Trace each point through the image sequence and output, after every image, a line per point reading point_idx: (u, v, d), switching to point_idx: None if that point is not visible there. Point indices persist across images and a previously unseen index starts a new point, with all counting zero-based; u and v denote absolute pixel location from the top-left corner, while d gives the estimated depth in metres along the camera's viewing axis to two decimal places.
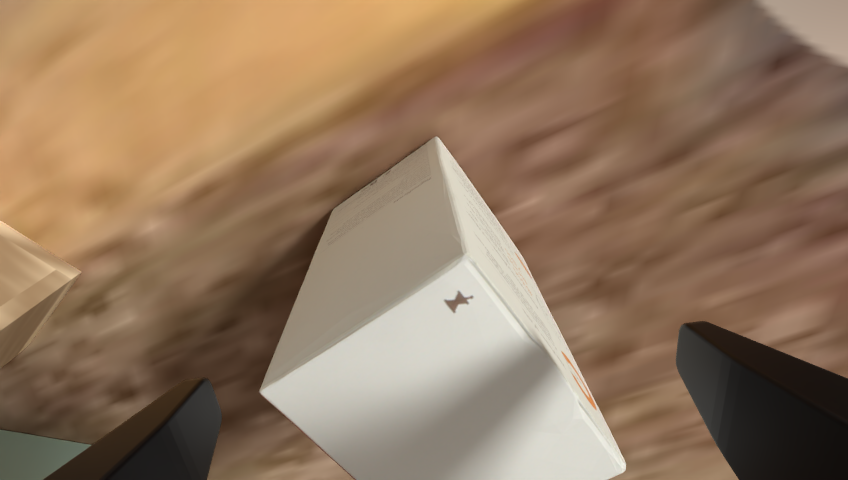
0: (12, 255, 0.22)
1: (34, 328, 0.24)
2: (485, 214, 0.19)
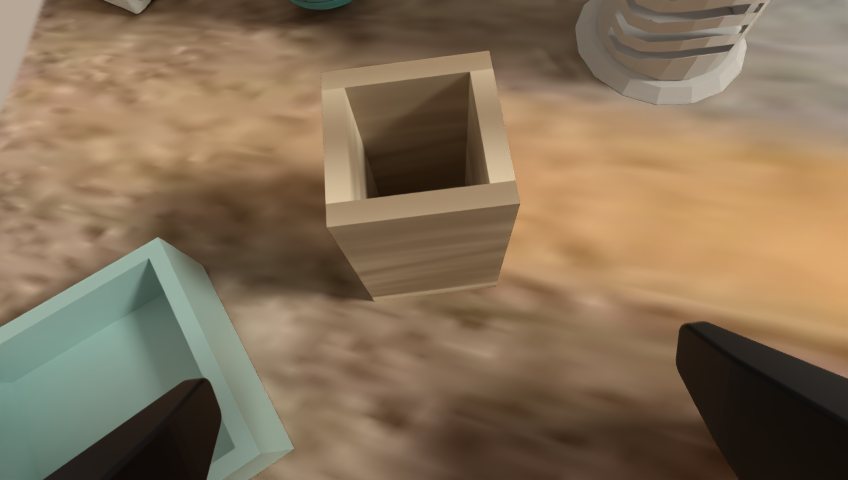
0: None
1: (422, 289, 0.22)
2: None
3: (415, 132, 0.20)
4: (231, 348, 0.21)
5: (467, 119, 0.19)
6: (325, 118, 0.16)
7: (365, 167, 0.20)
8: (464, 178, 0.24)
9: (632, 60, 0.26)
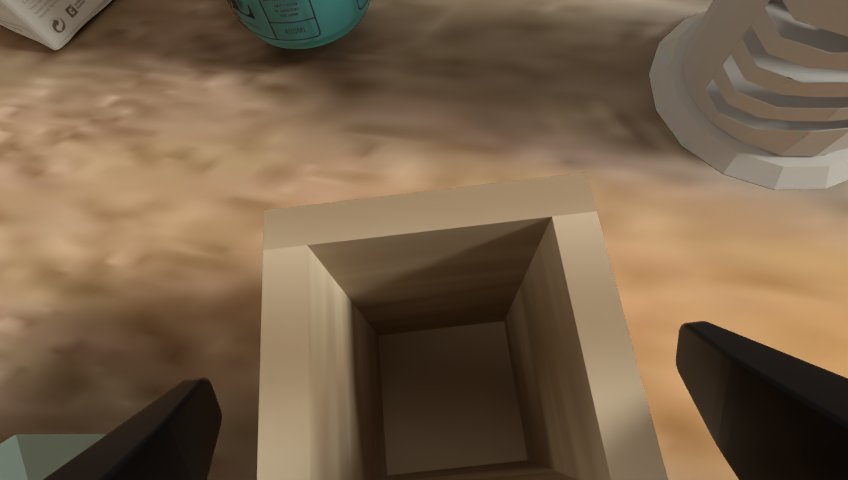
0: None
1: None
2: None
3: (437, 282, 0.11)
4: None
5: (528, 267, 0.11)
6: (267, 313, 0.08)
7: (352, 336, 0.12)
8: (505, 315, 0.16)
9: (742, 127, 0.18)
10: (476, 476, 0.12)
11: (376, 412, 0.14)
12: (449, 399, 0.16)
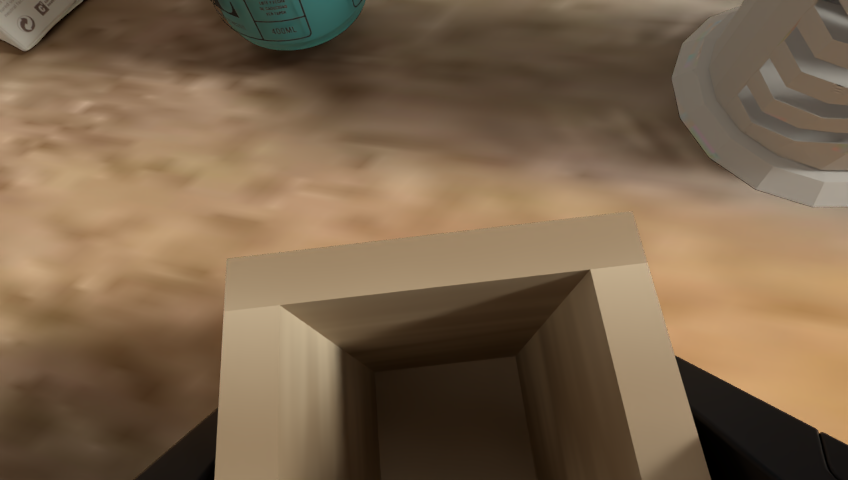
0: None
1: None
2: None
3: (442, 330, 0.10)
4: None
5: (552, 315, 0.09)
6: (226, 397, 0.06)
7: (342, 392, 0.10)
8: (518, 351, 0.14)
9: (779, 138, 0.16)
10: None
11: (371, 467, 0.12)
12: (454, 447, 0.14)
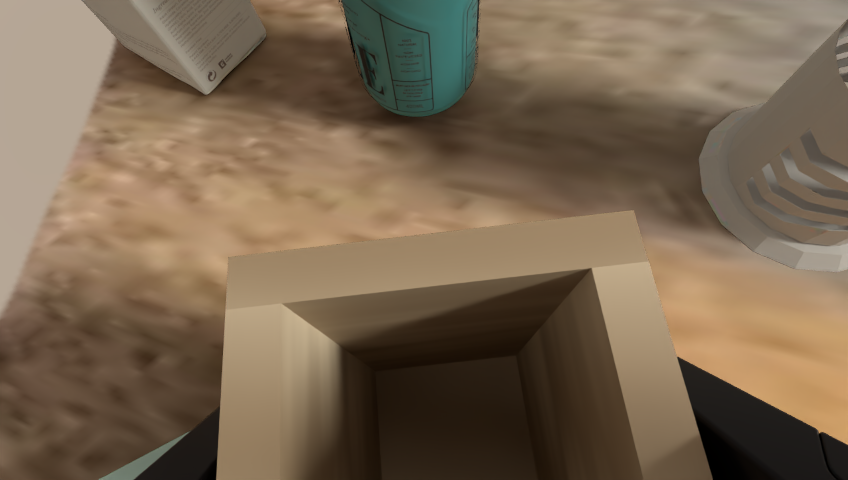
0: None
1: None
2: None
3: (443, 329, 0.10)
4: None
5: (553, 314, 0.09)
6: (228, 395, 0.06)
7: (343, 391, 0.10)
8: (519, 351, 0.14)
9: (773, 218, 0.22)
10: None
11: (372, 466, 0.12)
12: (455, 446, 0.14)
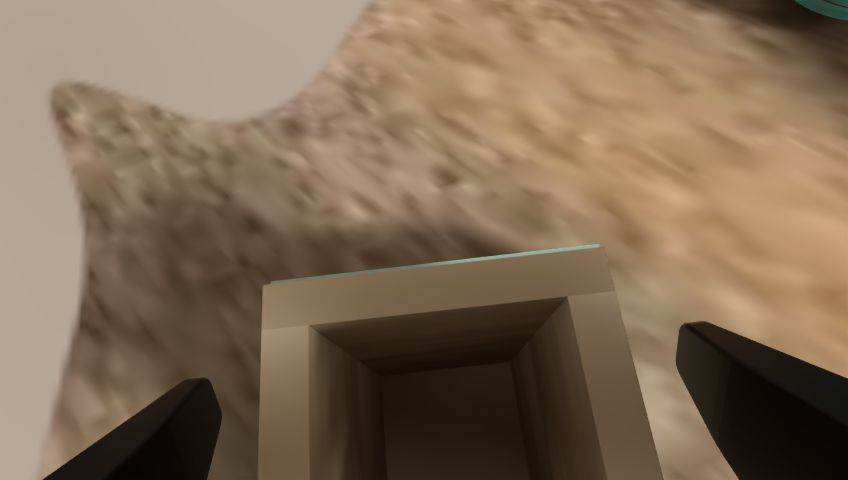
0: None
1: None
2: None
3: (443, 342, 0.11)
4: None
5: (539, 329, 0.11)
6: (265, 402, 0.08)
7: (355, 396, 0.11)
8: (512, 358, 0.15)
9: None
10: None
11: (379, 463, 0.14)
12: (454, 445, 0.15)
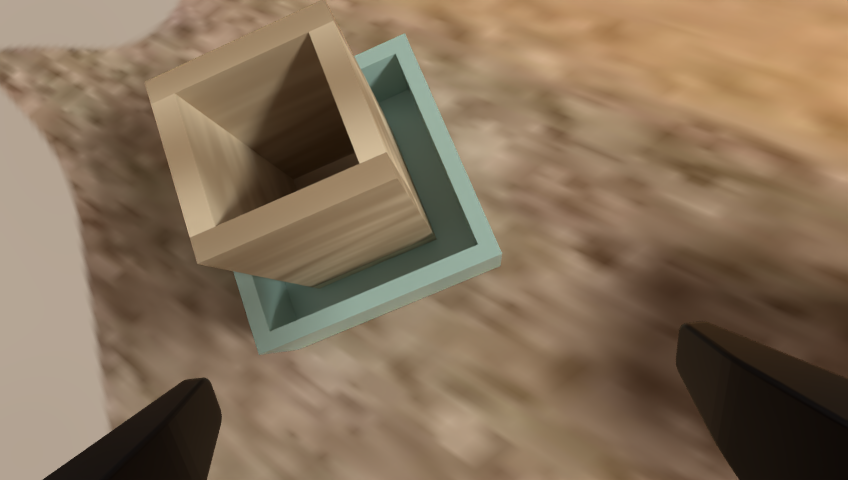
0: (412, 183, 0.21)
1: (360, 265, 0.21)
2: None
3: (288, 110, 0.17)
4: None
5: None
6: (164, 136, 0.14)
7: (249, 163, 0.18)
8: None
9: None
10: None
11: None
12: None
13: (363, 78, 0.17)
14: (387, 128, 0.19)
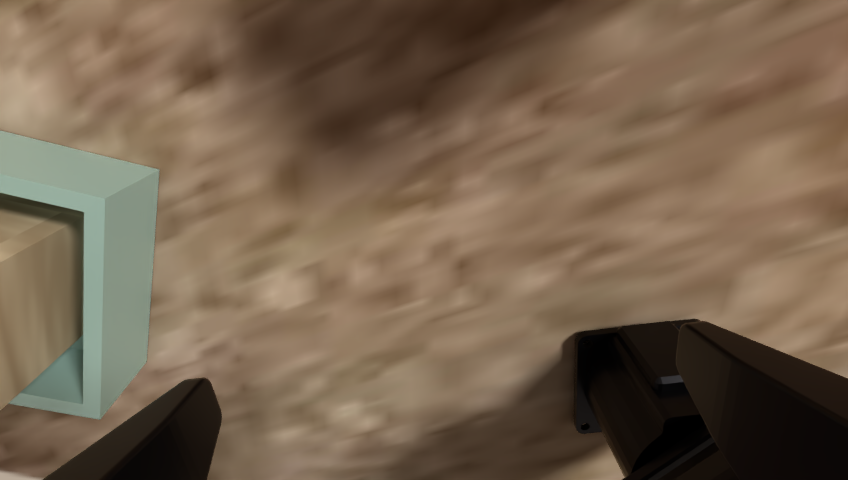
0: (5, 208, 0.19)
1: (77, 294, 0.21)
2: None
3: None
4: (3, 147, 0.18)
5: None
6: None
7: None
8: None
9: None
10: None
11: None
12: None
13: None
14: None
